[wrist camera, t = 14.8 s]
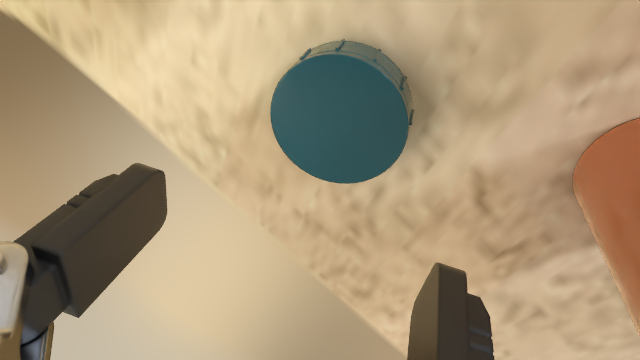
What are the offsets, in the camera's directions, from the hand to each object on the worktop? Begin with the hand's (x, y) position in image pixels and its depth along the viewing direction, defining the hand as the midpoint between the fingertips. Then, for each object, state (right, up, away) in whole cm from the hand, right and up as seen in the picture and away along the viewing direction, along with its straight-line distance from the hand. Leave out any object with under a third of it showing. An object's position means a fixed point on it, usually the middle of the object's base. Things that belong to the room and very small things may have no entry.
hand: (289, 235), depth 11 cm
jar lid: (+2, +4, +5) cm, 6 cm away
